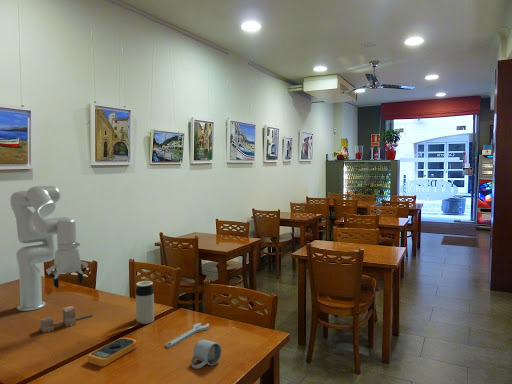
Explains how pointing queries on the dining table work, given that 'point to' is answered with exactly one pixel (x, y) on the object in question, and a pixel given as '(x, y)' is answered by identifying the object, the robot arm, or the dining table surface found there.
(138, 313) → the travel mug
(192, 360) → the ceramic mug
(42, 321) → the bar clamp
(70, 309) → the block
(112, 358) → the multimeter
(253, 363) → the dining table surface
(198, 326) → the adjustable wrench
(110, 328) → the dining table surface
